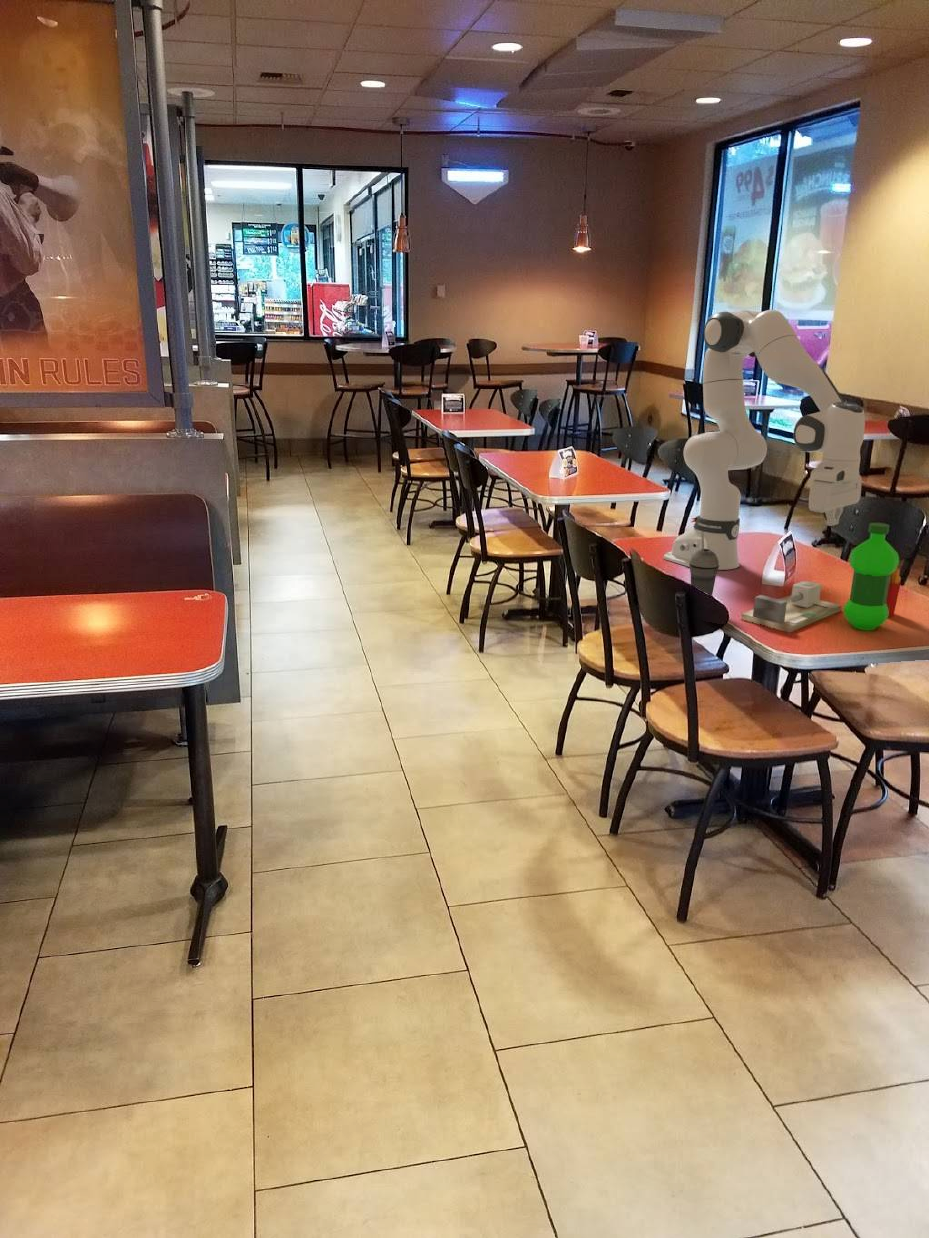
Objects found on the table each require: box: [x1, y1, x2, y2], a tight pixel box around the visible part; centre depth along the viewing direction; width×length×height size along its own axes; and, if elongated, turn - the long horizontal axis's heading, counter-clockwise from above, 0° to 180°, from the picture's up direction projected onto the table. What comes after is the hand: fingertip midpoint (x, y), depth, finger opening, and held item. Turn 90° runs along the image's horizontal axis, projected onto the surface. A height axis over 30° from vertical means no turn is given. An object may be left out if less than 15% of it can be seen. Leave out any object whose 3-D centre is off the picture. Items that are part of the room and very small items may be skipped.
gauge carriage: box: [790, 579, 828, 608], centre depth 228 cm, size 8×9×5 cm
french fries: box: [886, 569, 902, 618], centre depth 228 cm, size 8×4×12 cm, turn 8°
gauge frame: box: [741, 594, 843, 634], centre depth 227 cm, size 13×25×6 cm, turn 132°
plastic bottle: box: [843, 522, 900, 631], centre depth 216 cm, size 10×10×25 cm
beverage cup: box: [689, 531, 719, 596], centre depth 229 cm, size 7×7×20 cm
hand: (832, 525), depth 231 cm, fingers closed
